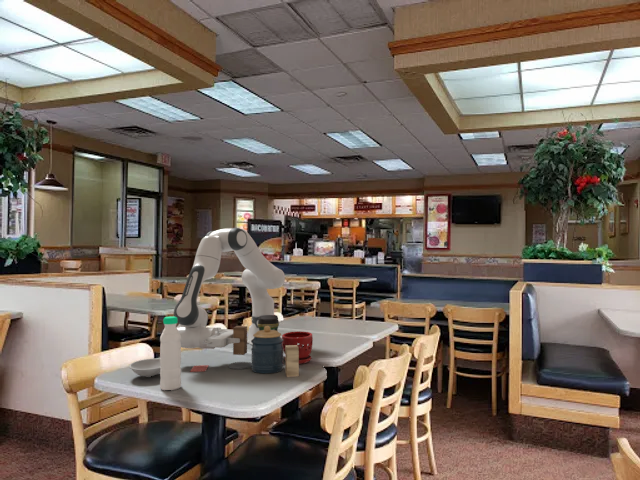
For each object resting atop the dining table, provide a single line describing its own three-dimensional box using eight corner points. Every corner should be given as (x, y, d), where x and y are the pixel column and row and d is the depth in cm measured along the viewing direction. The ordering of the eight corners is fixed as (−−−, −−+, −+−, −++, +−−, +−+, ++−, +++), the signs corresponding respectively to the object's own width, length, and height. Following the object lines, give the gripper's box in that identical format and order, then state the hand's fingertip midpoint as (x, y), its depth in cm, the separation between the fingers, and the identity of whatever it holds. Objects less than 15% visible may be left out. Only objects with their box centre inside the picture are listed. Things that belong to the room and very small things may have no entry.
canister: (250, 366, 198) (249, 324, 198) (281, 364, 201) (281, 322, 201) (252, 375, 185) (252, 329, 185) (285, 372, 188) (285, 327, 188)
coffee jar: (278, 353, 222) (278, 313, 222) (280, 357, 214) (279, 315, 214) (257, 354, 220) (257, 314, 220) (258, 358, 212) (257, 316, 212)
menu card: (194, 367, 200) (194, 365, 200) (208, 367, 200) (208, 365, 200) (190, 373, 191) (190, 371, 191) (205, 372, 191) (205, 370, 191)
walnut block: (236, 352, 202) (236, 326, 202) (247, 352, 201) (247, 326, 201) (233, 354, 197) (233, 327, 197) (243, 354, 196) (243, 327, 197)
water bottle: (164, 385, 172) (164, 315, 173) (183, 385, 172) (183, 315, 172) (157, 391, 165) (156, 318, 166) (177, 391, 165) (177, 318, 165)
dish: (132, 372, 191) (132, 359, 191) (170, 369, 194) (170, 357, 194) (125, 384, 173) (125, 370, 174) (167, 381, 177) (167, 368, 177)
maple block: (285, 373, 186) (285, 345, 187) (296, 373, 187) (296, 344, 188) (287, 376, 182) (286, 347, 182) (298, 376, 183) (298, 347, 183)
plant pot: (282, 358, 212) (282, 331, 212) (311, 357, 213) (311, 330, 213) (281, 366, 199) (281, 337, 199) (313, 365, 200) (313, 336, 200)
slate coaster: (233, 362, 205) (233, 361, 205) (255, 363, 203) (255, 362, 203) (225, 368, 195) (225, 367, 195) (248, 369, 193) (248, 368, 193)
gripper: (200, 335, 191) (234, 335, 189) (219, 326, 211) (249, 327, 209) (200, 350, 191) (234, 352, 189) (219, 341, 211) (249, 342, 209)
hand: (242, 339), depth 199 cm, fingers closed on walnut block, 4 cm apart
